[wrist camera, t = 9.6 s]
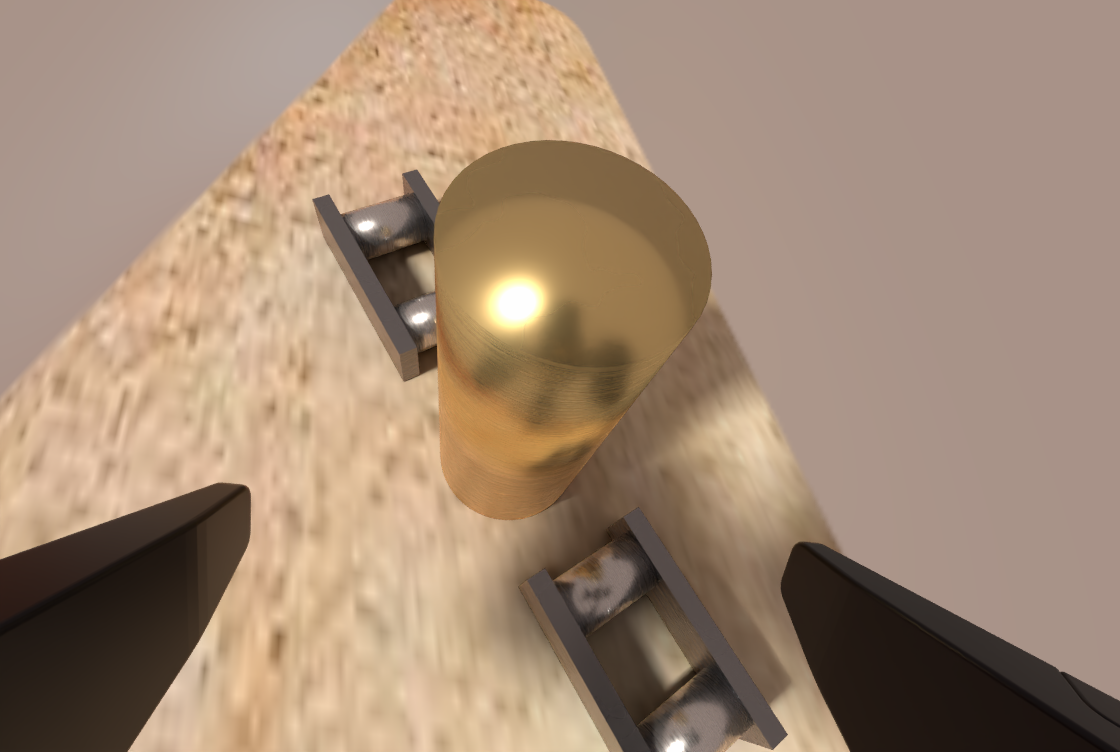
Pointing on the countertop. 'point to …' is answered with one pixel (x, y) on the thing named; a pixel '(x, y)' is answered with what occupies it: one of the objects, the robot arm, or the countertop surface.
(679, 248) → the link pin
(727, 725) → the chain end
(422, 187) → the chain end
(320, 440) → the countertop surface
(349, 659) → the countertop surface
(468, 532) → the countertop surface
